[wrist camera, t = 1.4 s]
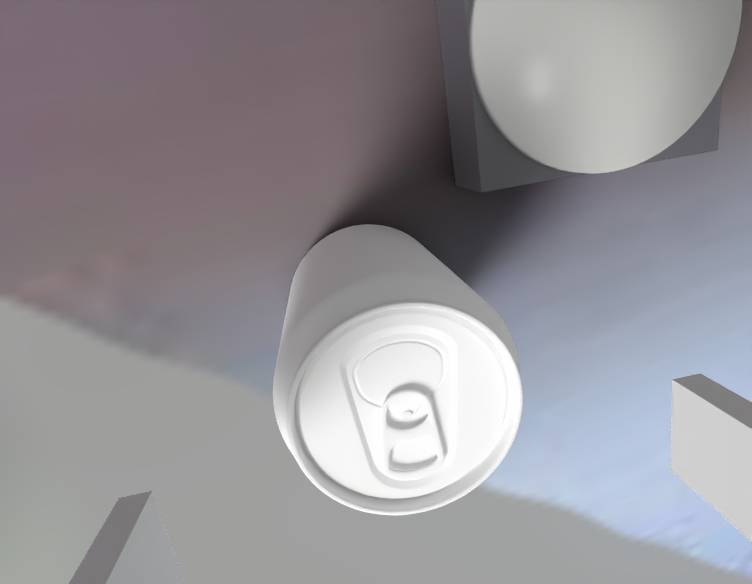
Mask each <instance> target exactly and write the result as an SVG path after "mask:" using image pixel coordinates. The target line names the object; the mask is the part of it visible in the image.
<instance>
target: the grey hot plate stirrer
mask: <svg viewBox="0 0 752 584" xmlns="http://www.w3.org/2000/svg"><path fill="white" fill-rule="evenodd" d="M435 1H436V10H437V19H438V28H439V38H440V47H441V56H442V65H443V75H444V84H445V93H446V102H447V111H448V121H449V130H450V139H451V148H452V158H453V167H454V176H455V185H456V186H457V187H461V188H465V189H469V190H473V191H477V192H481V193H482V192H488V191H493V190H499V189H504V188H510V187H516V186H521V185H527V184H532V183H538V182H543V181H549V180H554V179H560V178H565V177H571V176H576V175H582V174H588V173H605V172H613V171H617V170H621V169H625V168H629V167H632V166H634V165H637V164H643V163H648V162H654V161H660V160H665V159H671V158H676V157H682V156H687V155H693V154H698V153H704V152H709V151H715V150H718V137H719V119H720V101H721V84H722V81H723V78H724V76H725V74H726V72H727V70H728V67H729V65H730V62H731V59H732V56H733V53H734V50H735V46H736V42H737V38H738V33H739V29H740V21H741V13H742V0H435Z"/></svg>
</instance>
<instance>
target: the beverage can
mask: <svg viewBox="0 0 752 584" xmlns="http://www.w3.org/2000/svg"><path fill="white" fill-rule="evenodd" d="M273 402H274V410H275V415H276V419H277V423H278V426H279V429H280V432H281V434H282V436H283V439H284V441H285V443H286V444H287V446H288V448H289V450H290V451H291V453H292V454H293V455H294V457H295V459H296V460H297V462H298V464H299V466H300V467H301V469H302V470H303V472H304V473H305V475H306V476H307V477H308V478H309V479H310V480H311V482H312V483H313V484H314V485H315V486H316V487H318V488H319V489H320V490H321V491H322V492H324V493H325V494H326V495H328V496H329V497H331V498H332V499H334V500H336V501H338V502H340V503H342V504H344V505H346V506H348V507H351V508H354V509H357V510H360V511H364V512H368V513H374V514H382V515H406V514H413V513H420V512H424V511H428V510H432V509H435V508H438V507H441V506H444V505H446V504H448V503H451V502H453V501H455V500H457V499H458V498H460V497H462V496H464V495H465V494H467V493H469V492H470V491H472V490H473V489H474V488H476V487H477V486H478V485H479V484H481V483H482V482H483V481H484V480H485V479H486V478H487V477H488V476H489V475H490V474H491V473H492V472H493V471H494V470H495V469H496V468H497V466H498V465H499V464H500V463H501V461H502V460H503V458H504V457H505V455H506V454H507V452H508V450H509V449H510V447H511V445H512V443H513V441H514V438H515V436H516V433H517V430H518V427H519V424H520V419H521V414H522V405H523V393H522V384H521V379H520V367H519V360H518V355H517V352H516V348H515V345H514V342H513V340H512V337H511V335H510V333H509V331H508V329H507V327H506V326H505V324H504V322H503V321H502V319H501V318H500V316H499V315H498V314H497V313H496V311H495V310H494V309H493V308H492V307H491V306H490V305H489V304H488V303H487V302H486V301H485V300H484V299H483V298H482V297H481V296H479V295H478V294H477V293H476V292H475V291H474V290H473V289H471V288H470V287H469V286H468V285H467V284H466V283H465V282H463V281H462V280H461V279H460V278H459V277H458V276H457V275H456V274H454V273H453V272H452V271H451V270H450V269H449V268H448V267H446V266H445V265H444V264H443V263H442V262H441V261H440V260H438V259H437V258H436V257H435V256H434V255H433V254H432V253H431V252H429V251H428V250H427V249H426V248H425V247H424V246H423V245H421V244H420V243H419V242H418V241H417V240H415V239H414V238H412V237H411V236H409V235H408V234H406V233H404V232H402V231H400V230H397V229H395V228H391V227H388V226H383V225H374V224H364V225H355V226H351V227H347V228H343V229H341V230H338V231H336V232H334V233H332V234H330V235H328V236H326V237H325V238H323V239H322V240H321V241H319V242H318V243H317V244H316V245H315V246H313V247H312V248H311V249H310V251H309V252H308V253H307V254H306V255H305V257H304V258H303V259H302V261H301V263H300V264H299V266H298V268H297V270H296V272H295V275H294V278H293V281H292V285H291V289H290V295H289V300H288V305H287V311H286V316H285V321H284V327H283V332H282V337H281V343H280V348H279V353H278V359H277V364H276V369H275V375H274V383H273Z"/></svg>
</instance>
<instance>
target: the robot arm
mask: <svg viewBox="0 0 752 584" xmlns="http://www.w3.org/2000/svg"><path fill="white" fill-rule="evenodd" d="M670 470H671V471H672V472H673V473H674V474H676V475H677V476H678V477H679V478H680V479H681V480H682V481H684V482H685V483H686V484H687V485H688V486H689V487H690V488H691V489H693V490H694V491H695V492H696V493H697V494H698V495H699V496H700V497H702V498H703V499H704V500H705V501H706V502H707V503H708V504H710V505H711V506H712V507H713V508H714V509H715V510H716V511H717V512H719V513H720V514H721V515H722V516H723V517H724V518H725V519H727V520H728V521H729V522H730V523H731V524H732V525H733V526H734V527H736V528H737V529H738V530H739V531H740V532H741V533H742V534H743V535H745V536H746V537H747V538H748V539H749V540H750V541H751V542H752V402H750V401H748V400H746V399H745V398H743V397H741V396H739V395H737V394H736V393H734V392H732V391H730V390H729V389H727V388H725V387H723V386H721V385H720V384H718V383H716V382H714V381H713V380H711V379H709V378H707V377H705V376H704V375H702V374H696V375H692V376H687V377H682V378H678V379H673V380H672V419H671V464H670ZM69 584H184V578H183V575H182V573H181V570H180V567H179V564H178V561H177V559H176V556H175V553H174V550H173V548H172V545H171V542H170V539H169V537H168V534H167V531H166V528H165V526H164V523H163V520H162V517H161V515H160V512H159V509H158V506H157V504H156V501H155V498H154V495H153V493H152V491H150V492H145V493H141V494H136V495H131V496H127V497H122V498H119V499H118V501H117V503H116V504H115V506H114V508H113V509H112V511H111V513H110V514H109V516H108V518H107V520H106V521H105V523H104V525H103V526H102V528H101V530H100V531H99V533H98V535H97V537H96V538H95V540H94V542H93V543H92V545H91V547H90V549H89V550H88V552H87V554H86V555H85V557H84V559H83V561H82V562H81V564H80V566H79V567H78V569H77V571H76V572H75V574H74V576H73V578H72V579H71V581H70V583H69Z"/></svg>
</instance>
